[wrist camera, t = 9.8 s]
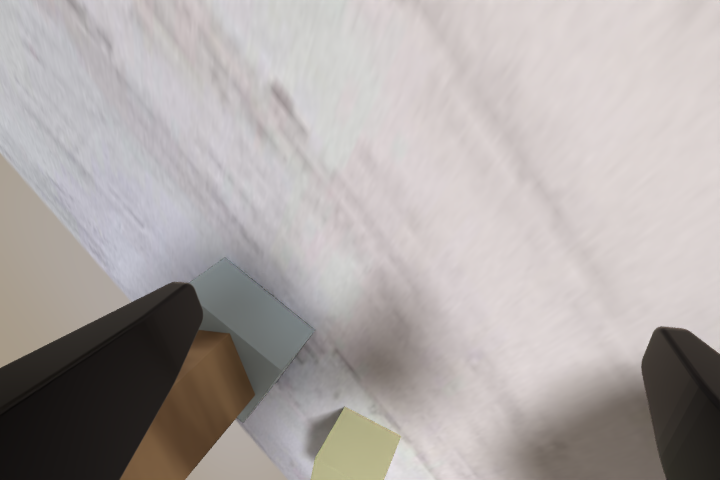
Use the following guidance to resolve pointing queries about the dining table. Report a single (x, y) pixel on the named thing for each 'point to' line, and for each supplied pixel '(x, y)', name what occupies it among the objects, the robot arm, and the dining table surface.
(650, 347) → the robot arm
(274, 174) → the dining table surface
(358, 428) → the sage cube
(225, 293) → the base block
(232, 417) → the walnut block
